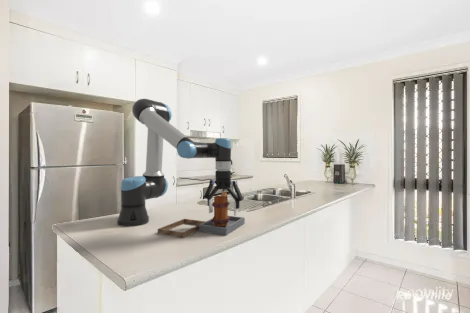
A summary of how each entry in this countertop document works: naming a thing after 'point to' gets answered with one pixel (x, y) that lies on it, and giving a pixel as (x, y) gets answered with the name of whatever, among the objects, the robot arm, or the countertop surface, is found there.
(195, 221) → the wooden picture frame
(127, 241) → the countertop surface
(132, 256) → the countertop surface
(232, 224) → the tray
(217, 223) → the mug
